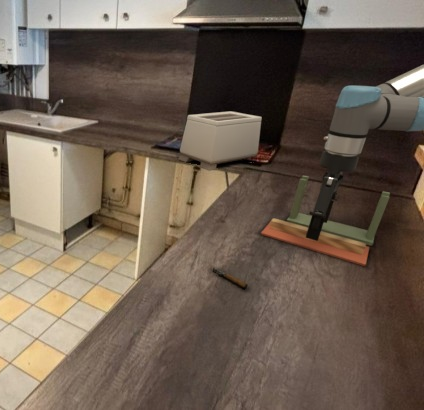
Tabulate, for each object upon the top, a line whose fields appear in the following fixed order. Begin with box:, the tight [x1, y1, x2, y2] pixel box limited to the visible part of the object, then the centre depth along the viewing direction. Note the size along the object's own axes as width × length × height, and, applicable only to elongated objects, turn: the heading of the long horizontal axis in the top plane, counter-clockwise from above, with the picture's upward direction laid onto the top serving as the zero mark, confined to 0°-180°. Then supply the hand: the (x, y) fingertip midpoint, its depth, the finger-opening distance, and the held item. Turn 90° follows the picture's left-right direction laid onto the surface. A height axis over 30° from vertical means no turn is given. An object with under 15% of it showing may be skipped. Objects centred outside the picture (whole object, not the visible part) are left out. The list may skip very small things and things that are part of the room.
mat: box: [260, 221, 370, 267], centre depth 97 cm, size 24×11×1 cm, turn 50°
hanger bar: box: [269, 217, 367, 255], centre depth 97 cm, size 22×2×2 cm, turn 50°
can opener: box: [212, 266, 249, 289], centre depth 80 cm, size 9×2×1 cm, turn 29°
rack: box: [285, 175, 391, 247], centre depth 102 cm, size 21×8×14 cm, turn 50°
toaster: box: [177, 111, 263, 172], centre depth 164 cm, size 19×34×21 cm, turn 119°
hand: (316, 229), depth 96 cm, fingers open, 13 cm apart
